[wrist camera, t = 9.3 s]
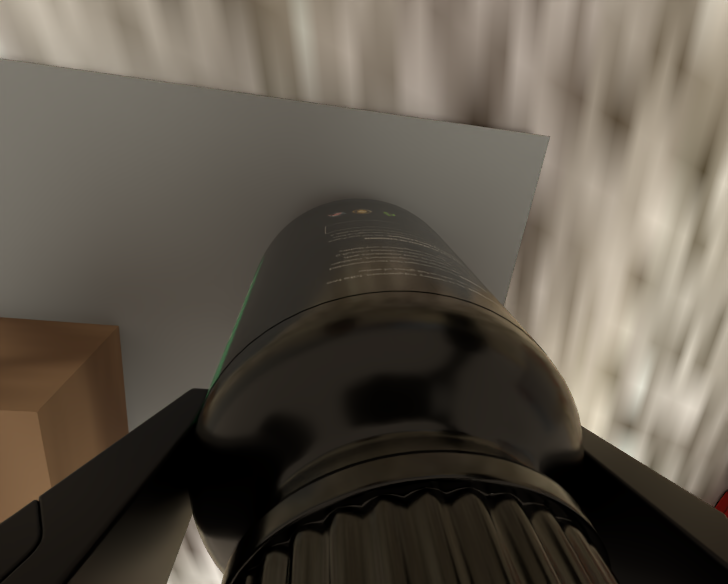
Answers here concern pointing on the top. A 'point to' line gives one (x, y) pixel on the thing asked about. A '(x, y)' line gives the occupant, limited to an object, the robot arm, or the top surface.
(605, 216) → the top surface
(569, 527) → the supplement bottle
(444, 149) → the gray board
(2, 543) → the robot arm
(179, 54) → the top surface
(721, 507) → the plastic cup
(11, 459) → the walnut block
